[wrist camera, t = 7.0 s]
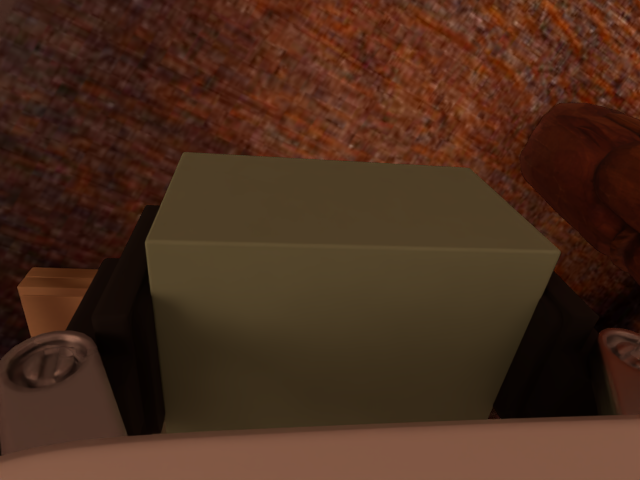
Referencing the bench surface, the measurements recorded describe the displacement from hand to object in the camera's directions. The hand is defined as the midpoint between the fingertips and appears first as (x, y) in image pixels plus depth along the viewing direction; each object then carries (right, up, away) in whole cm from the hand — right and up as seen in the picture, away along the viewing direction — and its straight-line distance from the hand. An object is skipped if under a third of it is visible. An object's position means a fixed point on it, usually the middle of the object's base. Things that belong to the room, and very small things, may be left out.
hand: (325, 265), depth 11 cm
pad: (0, 0, +1) cm, 1 cm away
